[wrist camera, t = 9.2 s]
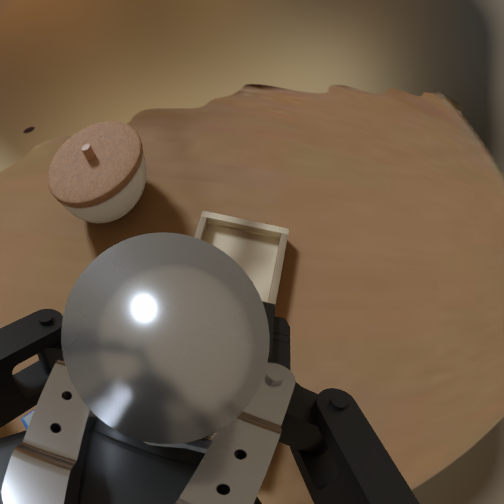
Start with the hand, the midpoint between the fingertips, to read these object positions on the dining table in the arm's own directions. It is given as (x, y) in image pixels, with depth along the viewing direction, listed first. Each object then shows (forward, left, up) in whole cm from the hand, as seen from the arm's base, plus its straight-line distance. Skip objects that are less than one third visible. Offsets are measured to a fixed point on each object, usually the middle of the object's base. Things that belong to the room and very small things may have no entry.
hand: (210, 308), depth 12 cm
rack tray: (-1, +9, -22) cm, 24 cm away
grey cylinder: (0, -2, -7) cm, 7 cm away
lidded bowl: (-20, +15, -22) cm, 33 cm away
